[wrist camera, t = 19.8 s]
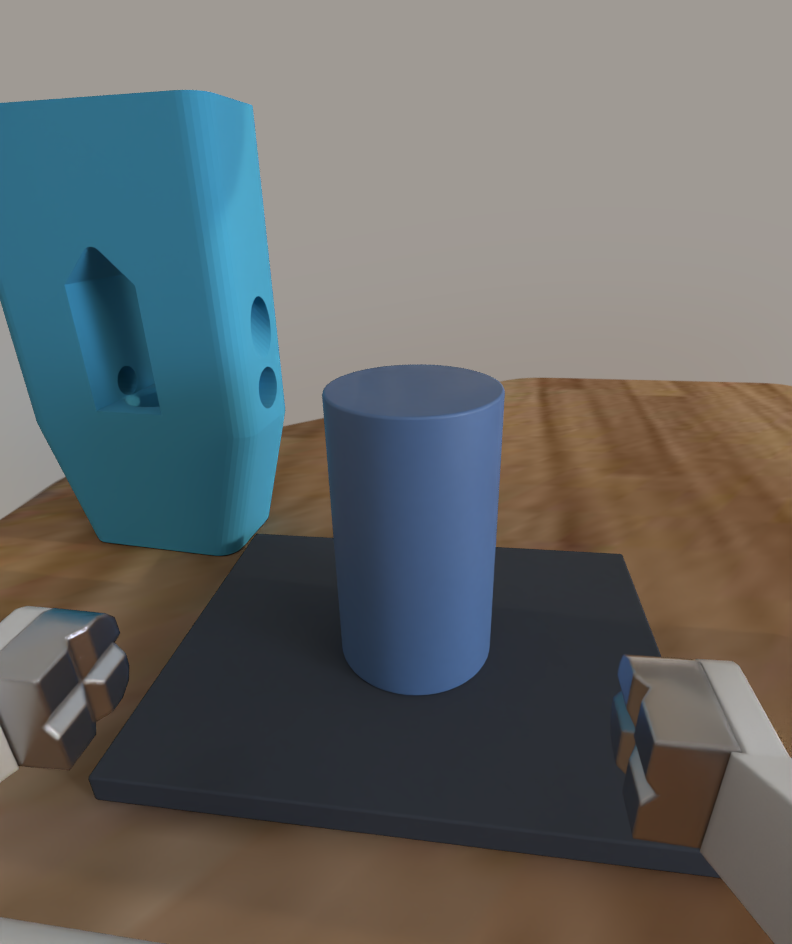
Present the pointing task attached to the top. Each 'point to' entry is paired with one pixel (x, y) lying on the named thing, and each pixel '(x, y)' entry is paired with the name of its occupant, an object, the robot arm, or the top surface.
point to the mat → (400, 715)
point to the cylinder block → (414, 521)
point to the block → (145, 310)
